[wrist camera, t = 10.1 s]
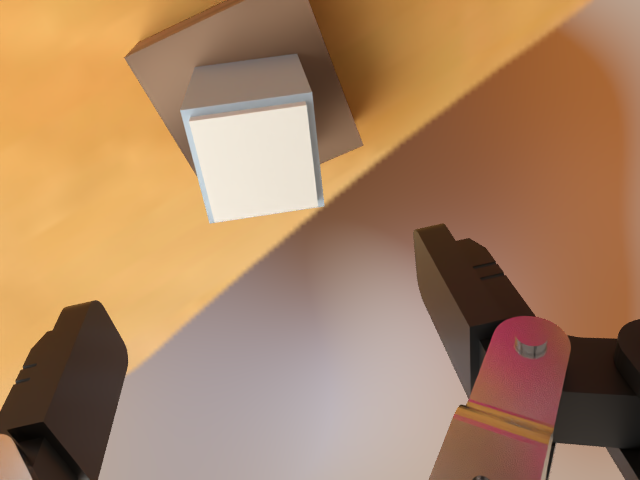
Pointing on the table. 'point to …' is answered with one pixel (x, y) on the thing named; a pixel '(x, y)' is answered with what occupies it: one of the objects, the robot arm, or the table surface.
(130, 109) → the table surface
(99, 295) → the table surface
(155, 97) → the walnut block
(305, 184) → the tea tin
